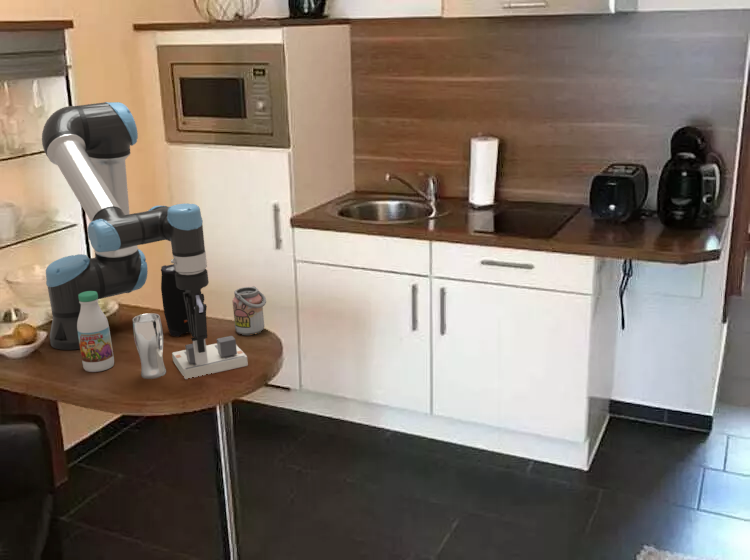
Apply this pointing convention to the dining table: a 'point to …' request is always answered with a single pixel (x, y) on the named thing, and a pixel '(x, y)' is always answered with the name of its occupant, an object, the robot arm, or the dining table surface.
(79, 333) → the milk bottle
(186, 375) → the switch panel
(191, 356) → the tab
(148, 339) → the beer glass
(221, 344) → the tab
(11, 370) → the dining table surface
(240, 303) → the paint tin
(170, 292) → the portable speaker
